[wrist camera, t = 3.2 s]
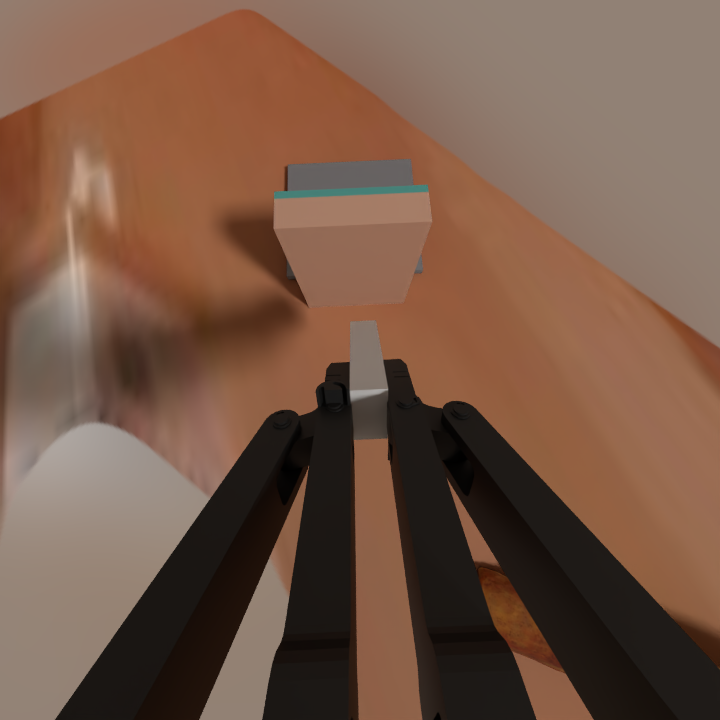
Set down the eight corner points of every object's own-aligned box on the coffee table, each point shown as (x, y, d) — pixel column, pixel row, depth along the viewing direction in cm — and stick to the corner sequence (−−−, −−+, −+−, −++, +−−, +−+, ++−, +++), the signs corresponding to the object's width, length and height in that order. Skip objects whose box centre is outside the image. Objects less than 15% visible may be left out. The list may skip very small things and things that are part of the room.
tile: (309, 307, 26) (273, 228, 16) (308, 283, 27) (274, 191, 16) (403, 303, 26) (432, 221, 16) (401, 279, 27) (427, 184, 16)
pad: (288, 279, 27) (286, 276, 26) (289, 169, 30) (287, 164, 29) (421, 272, 27) (422, 269, 27) (409, 164, 30) (410, 159, 29)
